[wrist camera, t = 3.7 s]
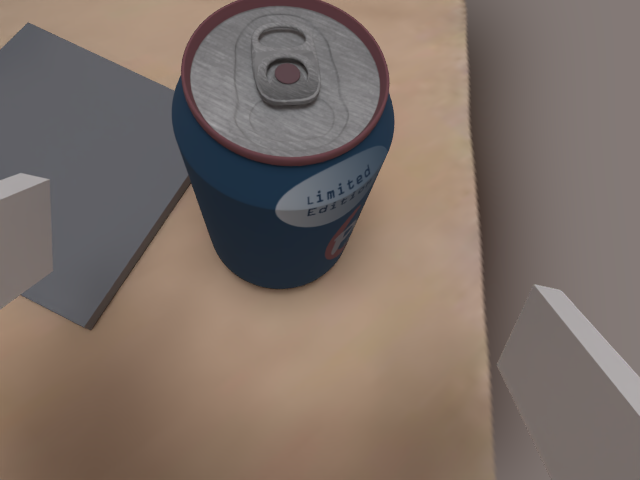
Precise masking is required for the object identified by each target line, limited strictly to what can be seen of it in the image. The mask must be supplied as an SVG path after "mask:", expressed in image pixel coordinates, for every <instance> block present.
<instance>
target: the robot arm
mask: <svg viewBox="0 0 640 480" xmlns="http://www.w3.org/2000/svg"><path fill="white" fill-rule="evenodd" d="M52 271H53V257H52V230H51V203H50V179H46V178H42V177H37V176H32V175H28V174H23V173H19V174H16V175H13V176H11V177H8V178H5V179H2V180H0V309H2V308H3V307H4V306H6V305H7V304H8V303H10V302H11V301H12V300H14V299H15V298H17V297H18V296H19V295H21V294H22V293H23V292H25V291H26V290H28V289H29V288H30V287H32V286H33V285H34V284H36V283H37V282H39V281H40V280H41V279H43V278H44V277H45V276H47V275H48V274H49V273H51V272H52ZM497 367H498V369H499V371H500V373H501V375H502V377H503V379H504V381H505V383H506V385H507V387H508V390H509V391H510V394H511V396H512V398H513V400H514V402H515V405H516V407H517V409H518V411H519V413H520V415H521V417H522V419H523V421H524V423H525V426H526V428H527V429H528V432H529V434H530V436H531V438H532V440H533V442H534V444H535V447H536V449H537V451H538V453H539V455H540V457H541V459H542V461H543V463H544V465H545V467H546V470H547V472H548V474H549V476H550V478H551V480H640V377H639V376H638V375H637V374H636V373H635V372H634V371H633V370H632V368H631V367H630V366H629V365H628V364H627V363H626V362H625V361H624V360H623V358H622V357H621V356H620V355H619V354H618V353H617V352H616V351H615V350H614V348H613V347H612V346H611V345H610V344H609V343H608V342H607V341H606V340H605V338H604V337H603V336H602V335H601V334H600V333H599V332H598V331H597V330H596V328H595V327H594V326H593V325H592V324H591V323H590V322H589V321H588V320H587V318H586V317H585V316H584V315H583V314H582V313H581V312H580V311H579V310H578V308H577V307H576V306H575V305H574V304H573V303H572V302H571V301H570V300H569V298H568V297H567V296H566V295H565V294H564V293H563V292H562V291H561V290H558V289H553V288H549V287H544V286H540V285H535V284H534V285H533V287H532V289H531V291H530V293H529V296H528V298H527V300H526V302H525V304H524V306H523V308H522V311H521V313H520V315H519V317H518V319H517V322H516V324H515V326H514V328H513V330H512V332H511V335H510V337H509V339H508V341H507V343H506V346H505V348H504V350H503V352H502V354H501V356H500V359H499V361H498V363H497Z"/></svg>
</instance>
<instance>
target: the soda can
mask: <svg viewBox="0 0 640 480" xmlns="http://www.w3.org/2000/svg"><path fill="white" fill-rule="evenodd" d="M172 125H173V131H174V134H175V138H176V141H177V144H178V147H179V150H180V152H181V155H182V158H183V161H184V164H185V167H186V169H187V172H188V175H189V178H190V181H191V184H192V187H193V189H194V192H195V195H196V198H197V201H198V204H199V206H200V209H201V212H202V215H203V218H204V221H205V223H206V226H207V229H208V232H209V235H210V238H211V241H212V243H213V246H214V248H215V250H216V252H217V254H218V256H219V257H220V259H221V260H222V262H223V263H224V264H225V265H226V266H227V267H228V268H229V269H230V270H231V271H232V272H233V273H234V274H236V275H237V276H239V277H240V278H242V279H244V280H245V281H247V282H250V283H252V284H255V285H258V286H261V287H266V288H273V289H287V288H294V287H299V286H302V285H305V284H308V283H310V282H312V281H314V280H316V279H318V278H319V277H321V276H322V275H324V274H325V273H326V272H327V271H329V270H330V269H331V268H332V267H333V265H334V264H335V263H336V262H337V260H338V259H339V258H340V256H341V254H342V252H343V250H344V248H345V246H346V244H347V242H348V239H349V237H350V235H351V233H352V231H353V228H354V226H355V224H356V222H357V220H358V217H359V215H360V213H361V211H362V208H363V206H364V204H365V202H366V200H367V197H368V195H369V193H370V191H371V189H372V186H373V184H374V182H375V180H376V178H377V175H378V173H379V171H380V169H381V167H382V164H383V162H384V160H385V158H386V156H387V153H388V151H389V148H390V146H391V142H392V138H393V133H394V111H393V106H392V101H391V98H390V94H389V72H388V68H387V64H386V61H385V58H384V55H383V53H382V51H381V49H380V47H379V45H378V44H377V42H376V41H375V39H374V38H373V36H372V35H371V34H370V33H369V32H368V30H367V29H366V28H365V27H364V26H363V25H362V24H360V23H359V22H358V21H357V20H356V19H354V18H353V17H352V16H350V15H349V14H347V13H346V12H344V11H343V10H341V9H339V8H337V7H335V6H333V5H331V4H329V3H326V2H323V1H321V0H238V1H235V2H232V3H230V4H228V5H226V6H224V7H222V8H220V9H219V10H217V11H216V12H214V13H213V14H212V15H210V16H209V17H208V18H207V19H205V20H204V21H203V22H202V23H201V24H200V25H199V27H198V28H197V29H196V30H195V32H194V33H193V35H192V36H191V38H190V40H189V42H188V44H187V46H186V49H185V51H184V55H183V59H182V66H181V76H180V78H179V81H178V83H177V86H176V89H175V92H174V96H173V101H172Z"/></svg>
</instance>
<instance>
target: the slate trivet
mask: <svg viewBox="0 0 640 480" xmlns="http://www.w3.org/2000/svg"><path fill="white" fill-rule="evenodd" d="M174 92H175V91H174V90H171V89H169V88H167V87H165V86H163V85H161V84H159V83H156V82H154V81H152V80H150V79H148V78H146V77H144V76H142V75H139V74H137V73H135V72H133V71H131V70H129V69H127V68H124V67H122V66H120V65H118V64H116V63H114V62H112V61H109V60H107V59H105V58H103V57H101V56H99V55H97V54H94V53H92V52H90V51H88V50H86V49H84V48H82V47H80V46H77V45H75V44H73V43H71V42H69V41H67V40H65V39H62V38H60V37H58V36H56V35H54V34H52V33H50V32H47V31H45V30H43V29H41V28H39V27H37V26H35V25H32V24H30V23H27V24H26V25H25V26H24V27H23V28H22V29H21V30H20V31H19V32H18V33H17V34H16V35H15V36H14V37H13V38H12V39H11V40H10V41H9V42H8V43H7V44H6V45H5V46H4V47H3V48H2V49H1V50H0V180H2V179H5V178H8V177H11V176H13V175H16V174H19V173H23V174H28V175H32V176H37V177H42V178H46V179H50V203H51V230H52V257H53V271H52V272H51V273H49V274H48V275H47V276H45V277H44V278H43V279H41V280H40V281H39V282H37V283H36V284H34V285H33V286H32V287H30V288H29V289H28V290H26V291H25V292H23V293H22V294H21V295H22V296H24V297H26V298H28V299H30V300H32V301H33V302H35V303H37V304H39V305H41V306H43V307H45V308H47V309H49V310H51V311H53V312H55V313H57V314H59V315H61V316H63V317H65V318H66V319H68V320H70V321H72V322H74V323H76V324H78V325H80V326H82V327H84V328H86V329H89V330H91V329H92V328H93V326H94V325H95V323H96V322H97V320H98V319H99V317H100V316H101V314H102V313H103V311H104V310H105V308H106V307H107V305H108V304H109V302H110V301H111V300H112V298H113V297H114V295H115V294H116V292H117V291H118V289H119V288H120V286H121V285H122V283H123V282H124V280H125V279H126V277H127V276H128V274H129V273H130V272H131V270H132V269H133V267H134V266H135V264H136V263H137V261H138V260H139V258H140V257H141V255H142V254H143V252H144V251H145V249H146V248H147V246H148V245H149V244H150V242H151V241H152V239H153V238H154V236H155V235H156V233H157V232H158V230H159V229H160V227H161V226H162V224H163V223H164V221H165V220H166V218H167V217H168V215H169V214H170V213H171V211H172V210H173V208H174V207H175V205H176V204H177V202H178V201H179V199H180V198H181V196H182V195H183V193H184V192H185V190H186V189H187V187H188V186H189V185H190V183H191V181H190V178H189V175H188V172H187V169H186V167H185V164H184V161H183V158H182V155H181V152H180V150H179V147H178V144H177V141H176V138H175V134H174V131H173V125H172V101H173V96H174Z"/></svg>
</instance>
